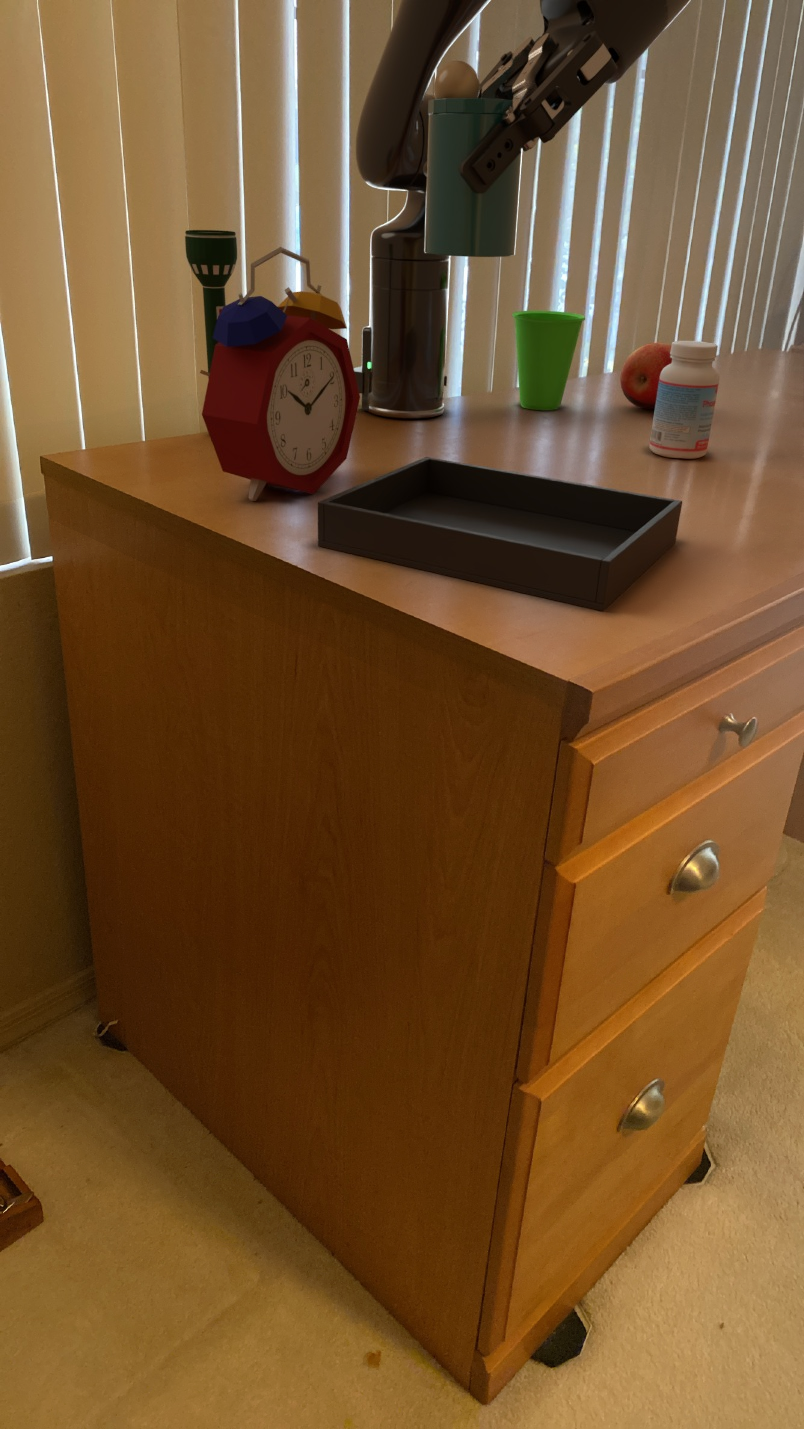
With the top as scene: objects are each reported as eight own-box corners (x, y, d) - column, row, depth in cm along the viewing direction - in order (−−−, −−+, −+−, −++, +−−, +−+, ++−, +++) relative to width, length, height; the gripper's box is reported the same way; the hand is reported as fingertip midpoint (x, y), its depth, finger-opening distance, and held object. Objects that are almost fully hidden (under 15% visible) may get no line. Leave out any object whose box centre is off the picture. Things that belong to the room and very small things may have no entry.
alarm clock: (262, 514, 82) (252, 252, 73) (186, 496, 86) (166, 245, 77) (361, 477, 94) (363, 245, 84) (289, 462, 97) (283, 240, 88)
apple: (694, 411, 127) (705, 345, 123) (650, 417, 122) (660, 349, 118) (648, 400, 132) (657, 337, 128) (604, 405, 128) (612, 340, 124)
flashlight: (214, 442, 104) (201, 233, 94) (189, 433, 107) (174, 229, 98) (254, 435, 107) (246, 232, 97) (229, 427, 110) (218, 229, 101)
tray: (317, 546, 76) (317, 501, 74) (424, 495, 89) (426, 456, 87) (602, 611, 66) (609, 562, 64) (675, 543, 79) (682, 500, 77)
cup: (580, 403, 129) (591, 313, 123) (567, 416, 121) (578, 321, 116) (513, 396, 131) (521, 308, 126) (497, 409, 124) (504, 316, 118)
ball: (459, 134, 65) (420, 108, 64) (473, 97, 66) (435, 71, 65) (479, 105, 62) (438, 78, 61) (493, 67, 63) (453, 40, 62)
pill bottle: (707, 462, 103) (728, 349, 98) (648, 457, 104) (665, 345, 99) (704, 448, 108) (723, 341, 103) (647, 444, 109) (664, 337, 104)
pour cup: (407, 252, 67) (411, 98, 63) (449, 249, 72) (456, 105, 68) (491, 258, 64) (501, 97, 60) (528, 254, 69) (540, 104, 65)
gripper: (547, -55, 67) (380, 137, 70) (658, -104, 55) (452, 131, 58) (606, 43, 71) (446, 222, 74) (721, 18, 59) (527, 232, 62)
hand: (450, 181), depth 66 cm, fingers closed on pour cup, 6 cm apart
